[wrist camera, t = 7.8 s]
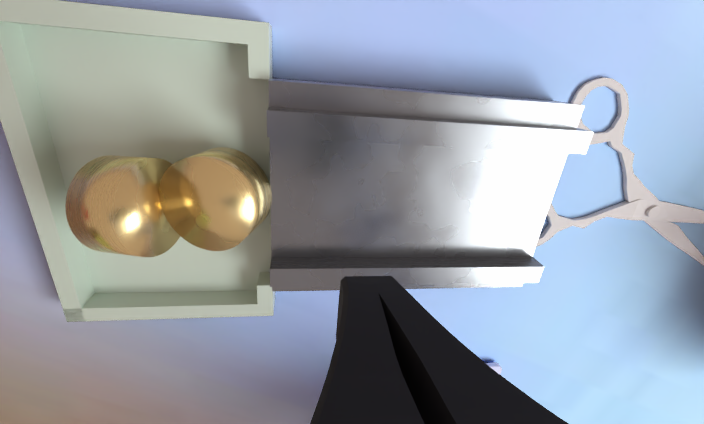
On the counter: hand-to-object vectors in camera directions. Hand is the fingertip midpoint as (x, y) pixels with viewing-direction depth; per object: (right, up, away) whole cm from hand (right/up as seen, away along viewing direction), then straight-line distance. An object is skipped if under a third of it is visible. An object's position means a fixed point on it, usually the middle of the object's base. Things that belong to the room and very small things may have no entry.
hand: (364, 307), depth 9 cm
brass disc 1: (-8, +3, +5) cm, 10 cm away
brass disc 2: (-6, +3, +6) cm, 9 cm away
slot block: (+3, +4, +9) cm, 10 cm away
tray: (-9, +4, +7) cm, 12 cm away
